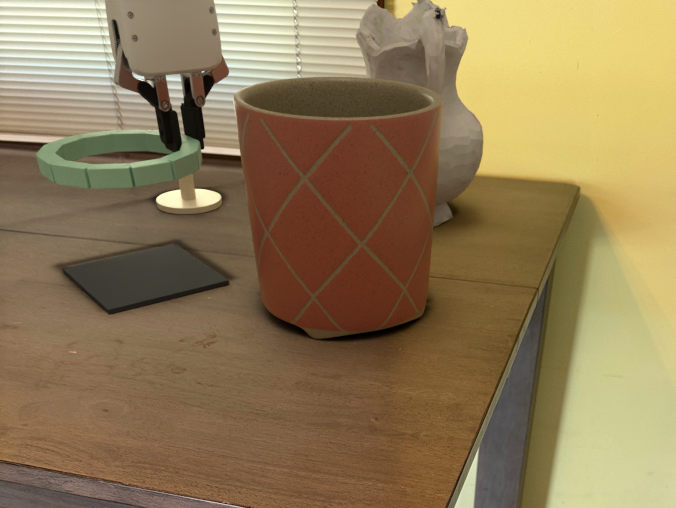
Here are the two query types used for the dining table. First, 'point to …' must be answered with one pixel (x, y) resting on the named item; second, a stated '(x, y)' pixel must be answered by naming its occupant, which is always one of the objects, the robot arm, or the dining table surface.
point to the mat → (144, 278)
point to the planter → (341, 198)
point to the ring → (64, 170)
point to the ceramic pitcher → (428, 84)
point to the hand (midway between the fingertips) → (184, 147)
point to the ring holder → (188, 199)
